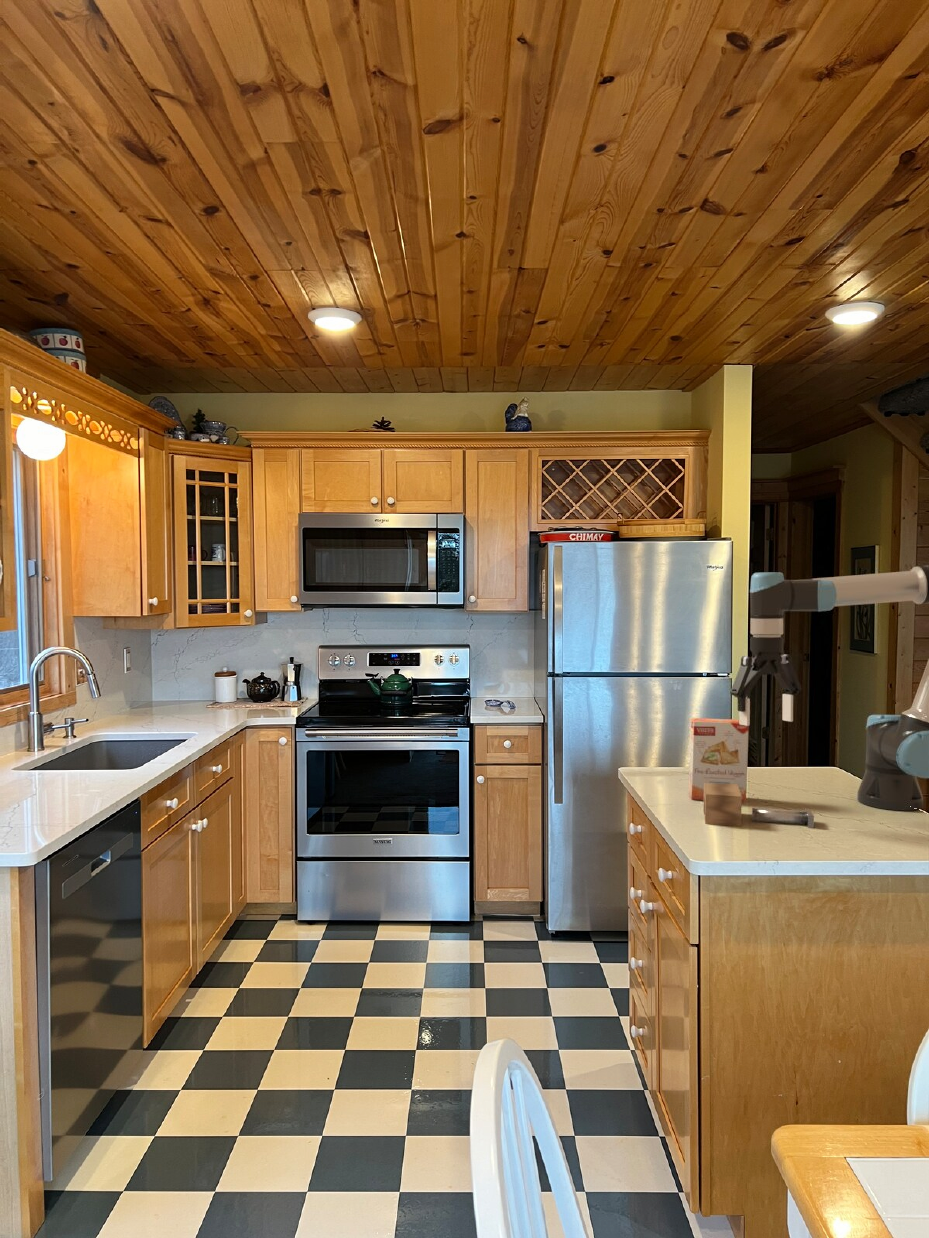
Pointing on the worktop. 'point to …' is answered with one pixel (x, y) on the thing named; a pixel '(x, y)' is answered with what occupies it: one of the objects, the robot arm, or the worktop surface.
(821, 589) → the robot arm
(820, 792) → the worktop surface
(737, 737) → the cracker box
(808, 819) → the pin
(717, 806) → the block
